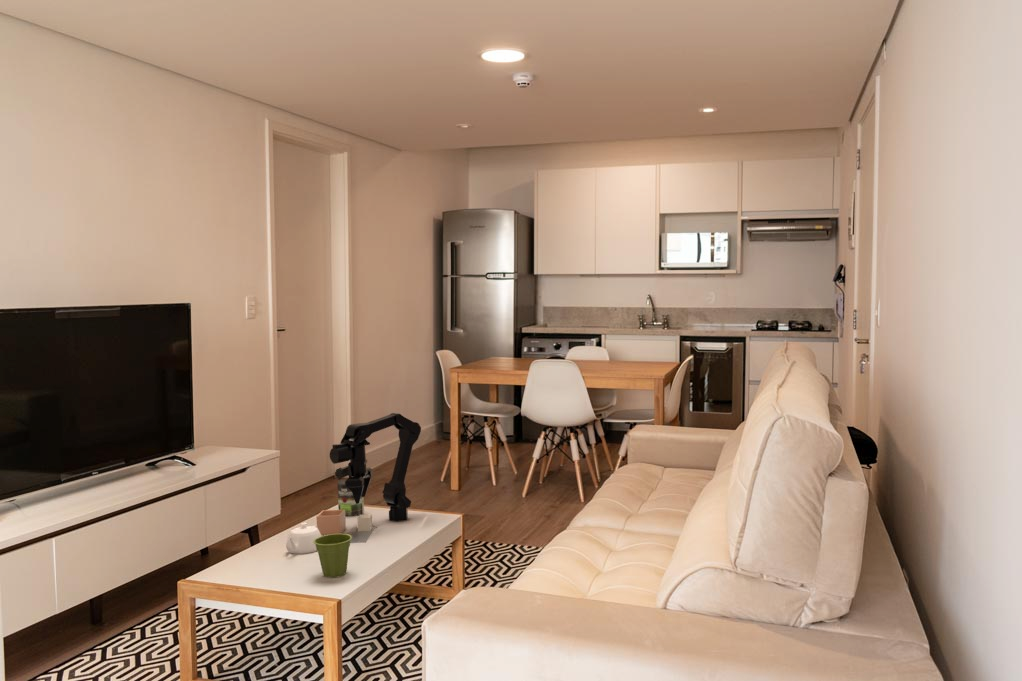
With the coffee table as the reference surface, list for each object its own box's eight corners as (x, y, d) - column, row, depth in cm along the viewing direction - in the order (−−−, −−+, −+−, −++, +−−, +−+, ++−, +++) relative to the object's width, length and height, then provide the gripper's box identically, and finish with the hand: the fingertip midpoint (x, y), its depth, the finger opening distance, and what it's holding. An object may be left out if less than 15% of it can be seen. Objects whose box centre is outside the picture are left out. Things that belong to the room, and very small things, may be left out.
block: (372, 527, 298) (372, 514, 298) (370, 531, 294) (369, 517, 294) (360, 527, 299) (360, 514, 298) (358, 531, 294) (357, 517, 294)
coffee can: (356, 520, 314) (355, 484, 313) (333, 519, 317) (332, 483, 317) (369, 513, 324) (367, 479, 323) (346, 512, 327) (345, 478, 326)
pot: (346, 530, 300) (345, 509, 299) (340, 537, 291) (339, 515, 291) (323, 531, 300) (322, 510, 300) (317, 538, 291) (316, 516, 291)
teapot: (307, 562, 264) (306, 532, 263) (273, 561, 266) (272, 531, 266) (333, 544, 283) (332, 516, 283) (301, 543, 286) (300, 515, 285)
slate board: (376, 529, 299) (376, 526, 299) (365, 545, 280) (365, 542, 280) (357, 530, 300) (357, 527, 300) (345, 546, 280) (345, 542, 280)
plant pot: (337, 565, 260) (335, 531, 259) (361, 572, 252) (359, 537, 252) (307, 575, 251) (305, 540, 250) (331, 583, 243) (329, 546, 242)
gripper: (342, 454, 305) (345, 494, 306) (329, 465, 286) (332, 507, 287) (371, 453, 304) (374, 493, 305) (360, 463, 285) (362, 506, 286)
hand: (360, 500), depth 296 cm, fingers open, 9 cm apart
